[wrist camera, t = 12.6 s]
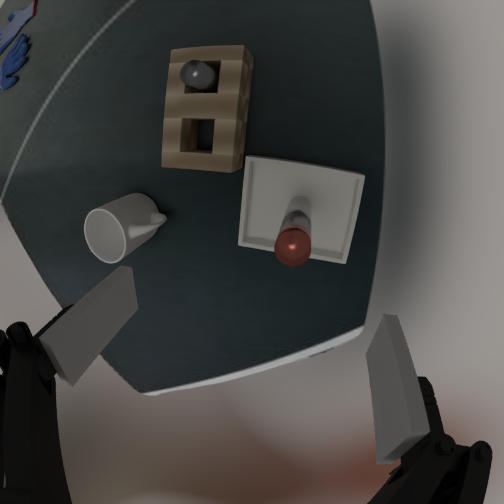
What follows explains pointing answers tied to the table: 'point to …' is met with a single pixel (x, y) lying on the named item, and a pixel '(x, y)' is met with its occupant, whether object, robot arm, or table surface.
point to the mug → (121, 226)
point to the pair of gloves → (20, 48)
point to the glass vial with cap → (295, 233)
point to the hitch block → (208, 110)
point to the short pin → (200, 76)
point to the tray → (307, 185)
